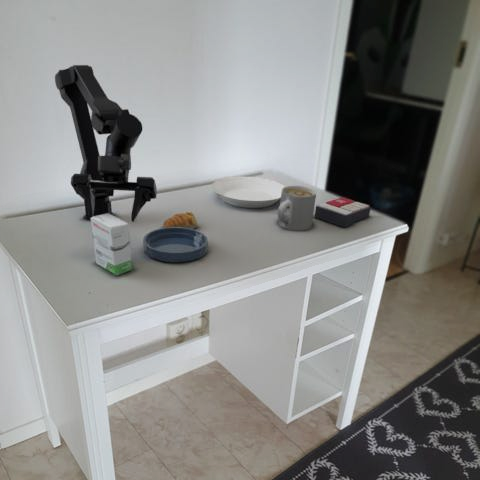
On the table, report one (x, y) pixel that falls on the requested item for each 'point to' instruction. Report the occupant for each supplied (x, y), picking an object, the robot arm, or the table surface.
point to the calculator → (342, 211)
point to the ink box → (112, 243)
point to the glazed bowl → (175, 244)
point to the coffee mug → (296, 207)
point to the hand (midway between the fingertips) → (111, 220)
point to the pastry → (181, 221)
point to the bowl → (248, 191)
